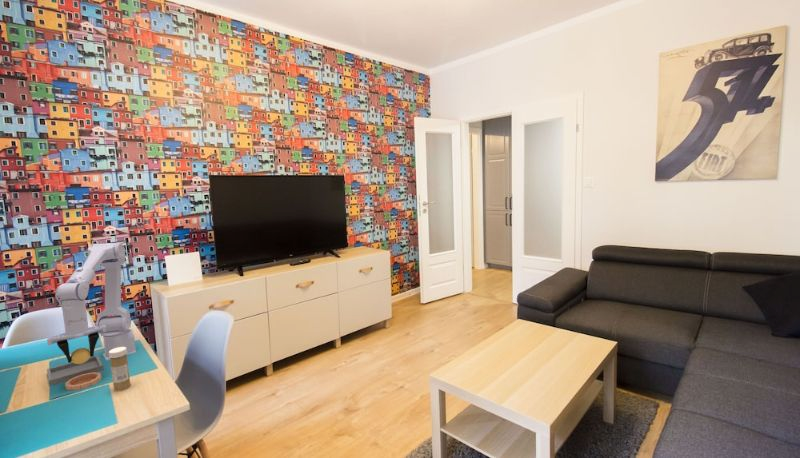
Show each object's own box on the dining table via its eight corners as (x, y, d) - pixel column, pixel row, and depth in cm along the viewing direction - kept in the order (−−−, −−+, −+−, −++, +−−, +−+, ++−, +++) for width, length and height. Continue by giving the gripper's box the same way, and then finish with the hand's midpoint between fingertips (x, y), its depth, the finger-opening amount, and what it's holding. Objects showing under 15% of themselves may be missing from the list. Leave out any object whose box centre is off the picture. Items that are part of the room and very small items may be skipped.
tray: (98, 361, 140) (97, 355, 139) (103, 371, 131) (103, 365, 131) (47, 375, 130) (46, 369, 129) (49, 387, 121) (49, 380, 121)
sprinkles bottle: (132, 384, 122) (127, 345, 121) (129, 390, 118) (124, 350, 117) (115, 387, 120) (110, 348, 119) (111, 394, 116) (106, 353, 115)
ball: (90, 358, 126) (88, 344, 125) (92, 362, 122) (90, 348, 122) (70, 363, 122) (68, 348, 122) (72, 368, 119) (70, 353, 118)
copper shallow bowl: (99, 374, 129) (98, 369, 129) (103, 383, 123) (102, 378, 123) (64, 384, 123) (64, 379, 123) (67, 394, 117) (66, 389, 117)
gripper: (45, 328, 113) (51, 370, 114) (105, 315, 123) (110, 354, 125) (44, 323, 117) (50, 363, 119) (102, 311, 128) (106, 348, 129)
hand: (80, 358), depth 122 cm, fingers closed on ball, 5 cm apart
